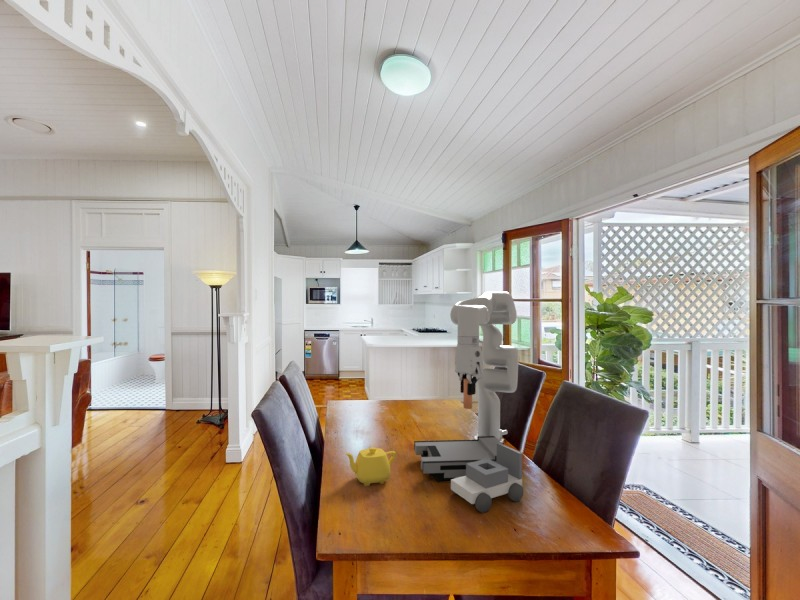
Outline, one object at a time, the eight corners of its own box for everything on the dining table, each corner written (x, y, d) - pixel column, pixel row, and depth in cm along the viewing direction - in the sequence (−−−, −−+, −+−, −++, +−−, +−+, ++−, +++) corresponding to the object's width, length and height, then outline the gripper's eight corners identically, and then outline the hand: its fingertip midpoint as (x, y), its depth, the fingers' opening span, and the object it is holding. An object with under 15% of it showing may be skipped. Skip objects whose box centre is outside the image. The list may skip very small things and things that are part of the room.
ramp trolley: (495, 481, 127) (496, 441, 128) (525, 498, 116) (526, 454, 116) (447, 495, 118) (448, 451, 118) (475, 515, 106) (476, 467, 106)
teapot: (347, 492, 119) (348, 457, 119) (340, 477, 129) (341, 445, 129) (401, 483, 125) (401, 451, 125) (390, 469, 135) (390, 439, 135)
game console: (413, 459, 146) (414, 437, 146) (494, 456, 149) (494, 436, 149) (423, 484, 125) (423, 459, 125) (515, 481, 129) (516, 457, 129)
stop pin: (468, 406, 135) (468, 378, 135) (473, 408, 132) (474, 379, 132) (461, 407, 133) (461, 378, 133) (467, 409, 130) (467, 380, 130)
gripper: (492, 342, 127) (492, 397, 127) (461, 338, 142) (461, 387, 142) (475, 344, 124) (475, 400, 124) (445, 339, 138) (445, 389, 138)
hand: (467, 392), depth 133 cm, fingers closed on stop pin, 3 cm apart
